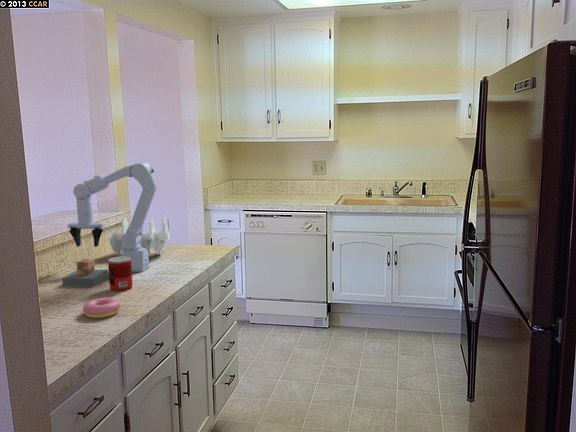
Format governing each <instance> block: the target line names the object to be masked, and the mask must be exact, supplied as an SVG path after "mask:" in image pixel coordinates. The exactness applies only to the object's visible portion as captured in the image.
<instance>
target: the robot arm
mask: <svg viewBox="0 0 576 432" xmlns="http://www.w3.org/2000/svg"><path fill="white" fill-rule="evenodd" d="M155 172H156V170H155V169H154V168H153V166H152V164H150V163H149V162H147V161H143V162H139V163H138V162H137V163H135V164H131V165H127V166H124V167H122V168H121V169H120V168H119V169H118V170H116V171H114V172H112V173H110V174H108V175H103V174H100V175H99V174H96V175H93V178H90V179H86V180H84V181H83V183H78V184H77V185H75V186H74V187H73V190H72V191H73V194H74V196H75V198H76V199H75V200H76V212H77V222H72V223H71V222H70V223H67V229H68V232H69V233H70V235H71V236H72V238H73V240H74V243H75V247H80V246H81V244H82V240H81V233H82V232H81V231H82V229H84V230H85V229H86V230H87V229H89V230H91V229H92V230H91V232H92V238H93V246H94V248H95V247H96V248H97V247H98V246H99V243H100V239H101V236H102V234H103V231H104V229H105V223H101V222H100V223H98V222H94V216H93V215H94V214H93V213H94V212H93V202H92V201H93V200H92V195H95V194H96V193H99V192H101V191H104V190H106V189H108V188H109V185H110V184H111V183H114V182H116V181H118V180H120V179H124V178H125V177H126V178H134V179H135V180H136V181H137V182H138V183H139V184H140V187H141V188H142V191H141V192H140V196H139V199H138V202H137V204H136V207H135V210H134V213H133V216H132V219H131V221H130V224H129V225H128V229H127V231H126V233H125V235H123V236H122V238H121V245H122V247H123V253H122V255H123V256H127V257H131V265H132V273H133V272H141V273H143V272H144V271H146V270H147V269H148V268H150V267H151V266H150V262H149V261H150V260H149V254H148V250H147V249H146V248H141V244H140V242H141V241H142V232H144V231H143V230H144V229H143V227H144V224H145V221H146V219H147V215H148V213H149V210H150V208H151V206H152V202H153V200H154V197H155V195H156V191H157V189H158V188H157V187H158V186H157V184H158V183H157V181H156V179H157V178H156V173H155Z"/></svg>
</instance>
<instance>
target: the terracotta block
mask: <svg viewBox="0 0 576 432" xmlns="http://www.w3.org/2000/svg"><path fill="white" fill-rule="evenodd" d="M76 270H77V275H90V274H92V273H94V272H95V270H96V268H95V260H94V259H93V258H90V259H89V258H87V259H86V258H85V259H84V258H82V259H80V260H77V261H76Z"/></svg>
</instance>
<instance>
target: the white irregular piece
mask: <svg viewBox="0 0 576 432" xmlns="http://www.w3.org/2000/svg"><path fill="white" fill-rule="evenodd" d="M155 226H156V225H155V220H154V217H150V219H149V231H142V241H141V242H140V244H141V248H146V249H147V250H148V255H149V254H150V253H152V247H153V250H154V252H155V253H156V254H157V255H159V256H160V255H161V256H162V253H165V246H166V245H167V241H168V240H170V231H169V229H170V228H169V226H168V220H167V217H166V216H165V217H163V220H162V226H163V230H158V231H157V230H156V227H155ZM128 227H129V221H128V220H127V217H126V216H125V217H123V218H122V221H121V233H116V229H115V228H113V229H112V231H111V233H110V235H109V237H108V241H109V244H110V246H111V249H112V251H113V253H114V254H115V255H119V256H122V255H123V247H122V245H121V238H122V236H123V235H125V233H126V231H127V229H128Z"/></svg>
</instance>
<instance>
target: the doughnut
mask: <svg viewBox="0 0 576 432" xmlns="http://www.w3.org/2000/svg"><path fill="white" fill-rule="evenodd" d="M120 308H121V305H120V302H119V301H118V300H117V299H116V298H114V297H113V298H112V297H100V298H99V297H97V298H95V299H91V300H89V301H87V302H85V304H84V305H83V307H82V312H83V314H84V315H85V317H88V318H90V319H105V318H109V317H111V316H114V315H116V314H117V313H118V312H119V310H120Z"/></svg>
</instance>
